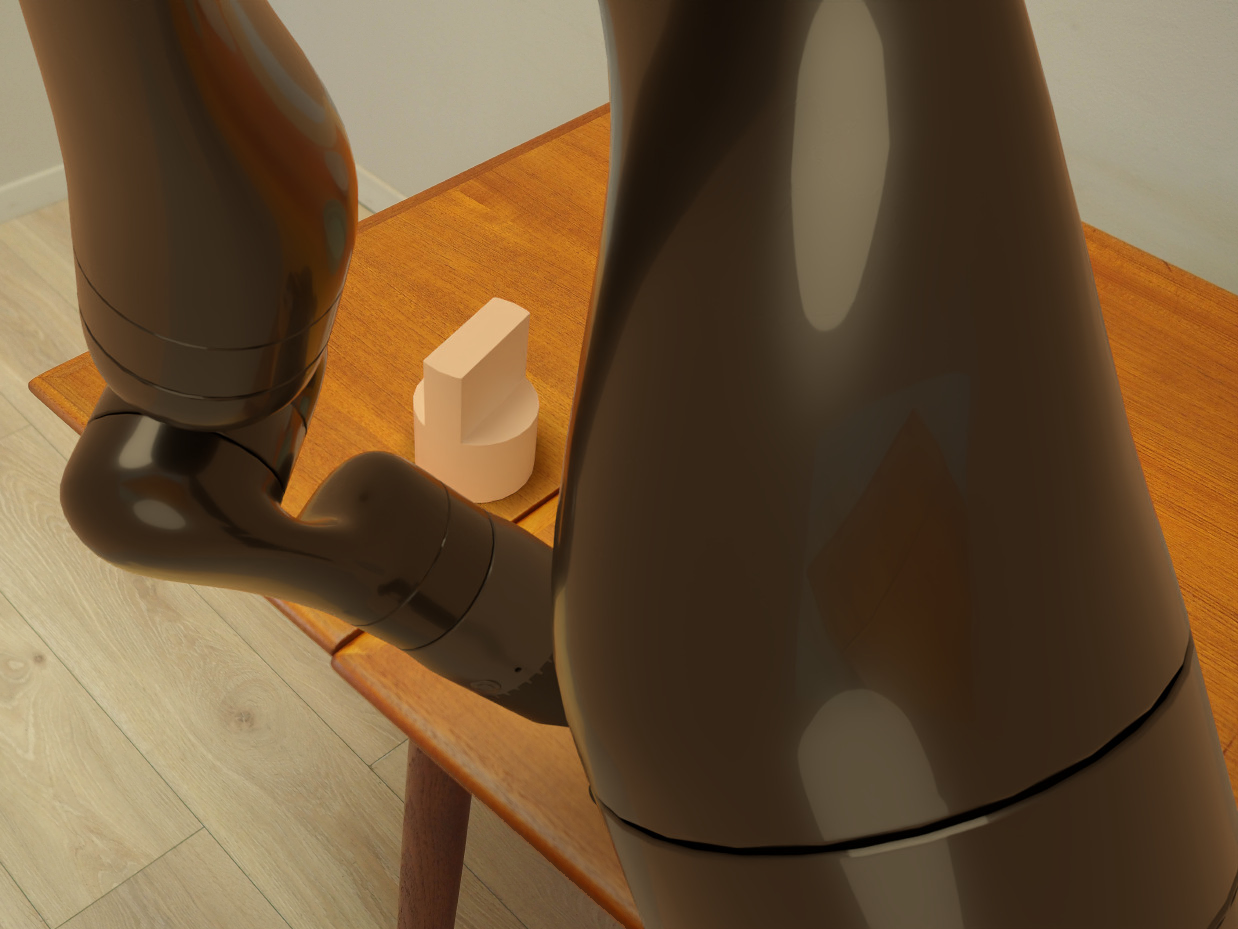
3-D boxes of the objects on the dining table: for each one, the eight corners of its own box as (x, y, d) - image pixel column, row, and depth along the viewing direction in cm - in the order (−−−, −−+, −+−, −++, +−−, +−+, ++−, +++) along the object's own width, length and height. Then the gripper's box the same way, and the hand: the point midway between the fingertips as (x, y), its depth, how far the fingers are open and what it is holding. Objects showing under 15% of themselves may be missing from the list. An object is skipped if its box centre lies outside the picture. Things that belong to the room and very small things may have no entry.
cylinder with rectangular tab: (459, 402, 84) (460, 279, 75) (556, 448, 82) (569, 327, 73) (390, 469, 78) (383, 345, 69) (492, 521, 76) (498, 399, 67)
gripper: (586, 720, 42) (797, 831, 53) (554, 462, 52) (738, 598, 62) (451, 791, 45) (677, 883, 55) (445, 534, 55) (639, 653, 65)
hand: (709, 732), depth 59 cm, fingers closed on pill bottle, 6 cm apart
